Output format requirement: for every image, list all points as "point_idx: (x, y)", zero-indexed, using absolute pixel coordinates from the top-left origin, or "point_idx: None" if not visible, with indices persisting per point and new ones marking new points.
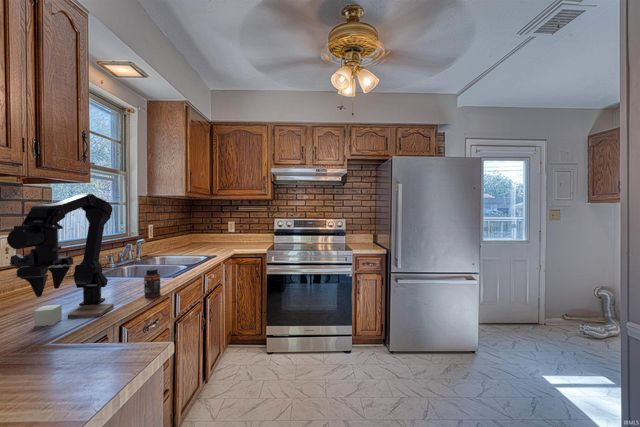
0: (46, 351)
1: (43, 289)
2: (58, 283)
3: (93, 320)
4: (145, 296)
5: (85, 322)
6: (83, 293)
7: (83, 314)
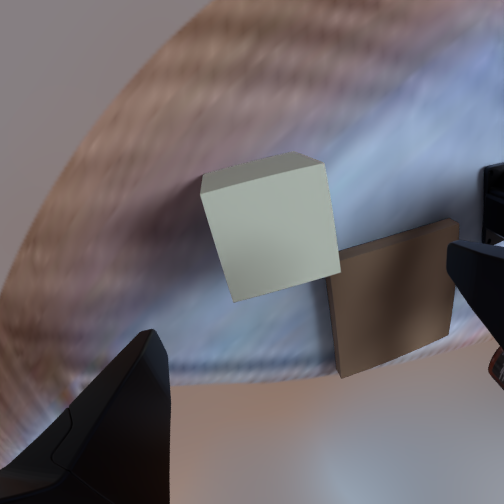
0: (47, 401)
1: (166, 430)
2: (476, 303)
3: (292, 373)
4: (498, 350)
5: (269, 363)
6: None
7: (335, 325)
